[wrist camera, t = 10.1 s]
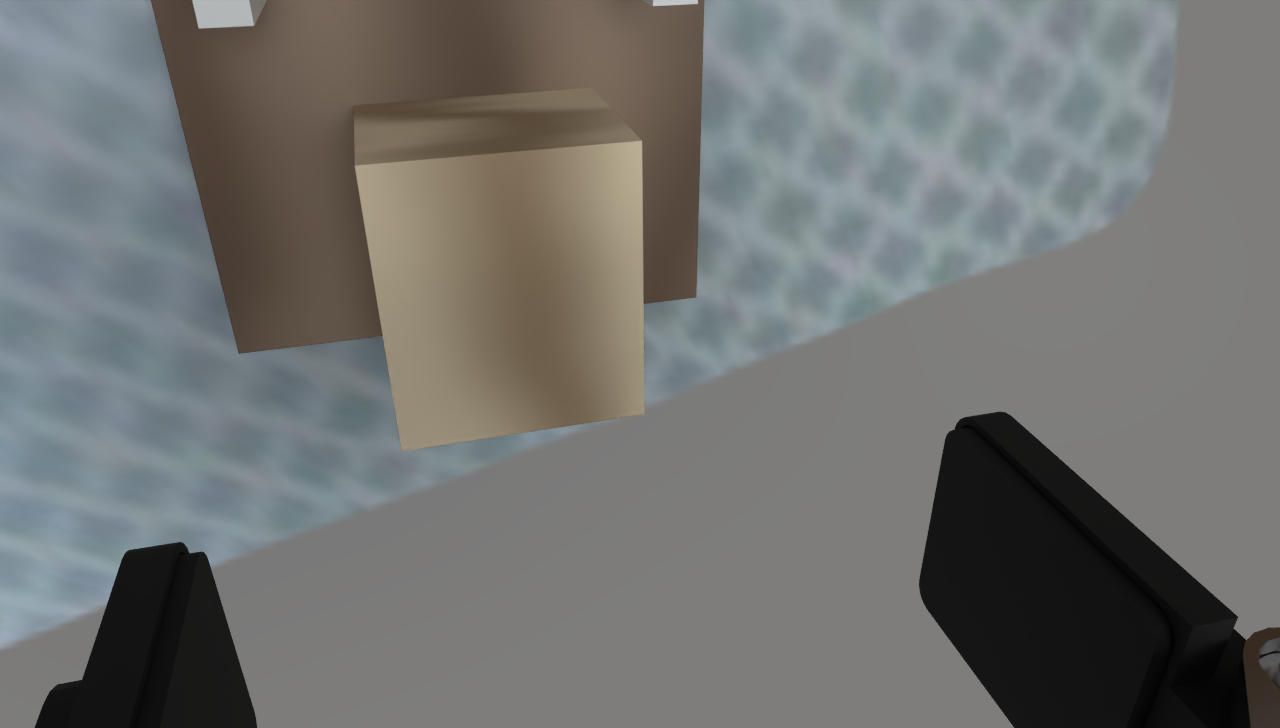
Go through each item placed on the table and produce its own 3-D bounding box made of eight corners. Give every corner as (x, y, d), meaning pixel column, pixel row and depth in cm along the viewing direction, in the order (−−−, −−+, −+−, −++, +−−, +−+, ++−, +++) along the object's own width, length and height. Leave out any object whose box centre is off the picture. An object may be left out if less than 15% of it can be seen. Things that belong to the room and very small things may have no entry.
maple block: (393, 353, 26) (401, 451, 22) (354, 105, 23) (354, 165, 19) (600, 326, 28) (644, 414, 24) (591, 87, 24) (642, 140, 20)
